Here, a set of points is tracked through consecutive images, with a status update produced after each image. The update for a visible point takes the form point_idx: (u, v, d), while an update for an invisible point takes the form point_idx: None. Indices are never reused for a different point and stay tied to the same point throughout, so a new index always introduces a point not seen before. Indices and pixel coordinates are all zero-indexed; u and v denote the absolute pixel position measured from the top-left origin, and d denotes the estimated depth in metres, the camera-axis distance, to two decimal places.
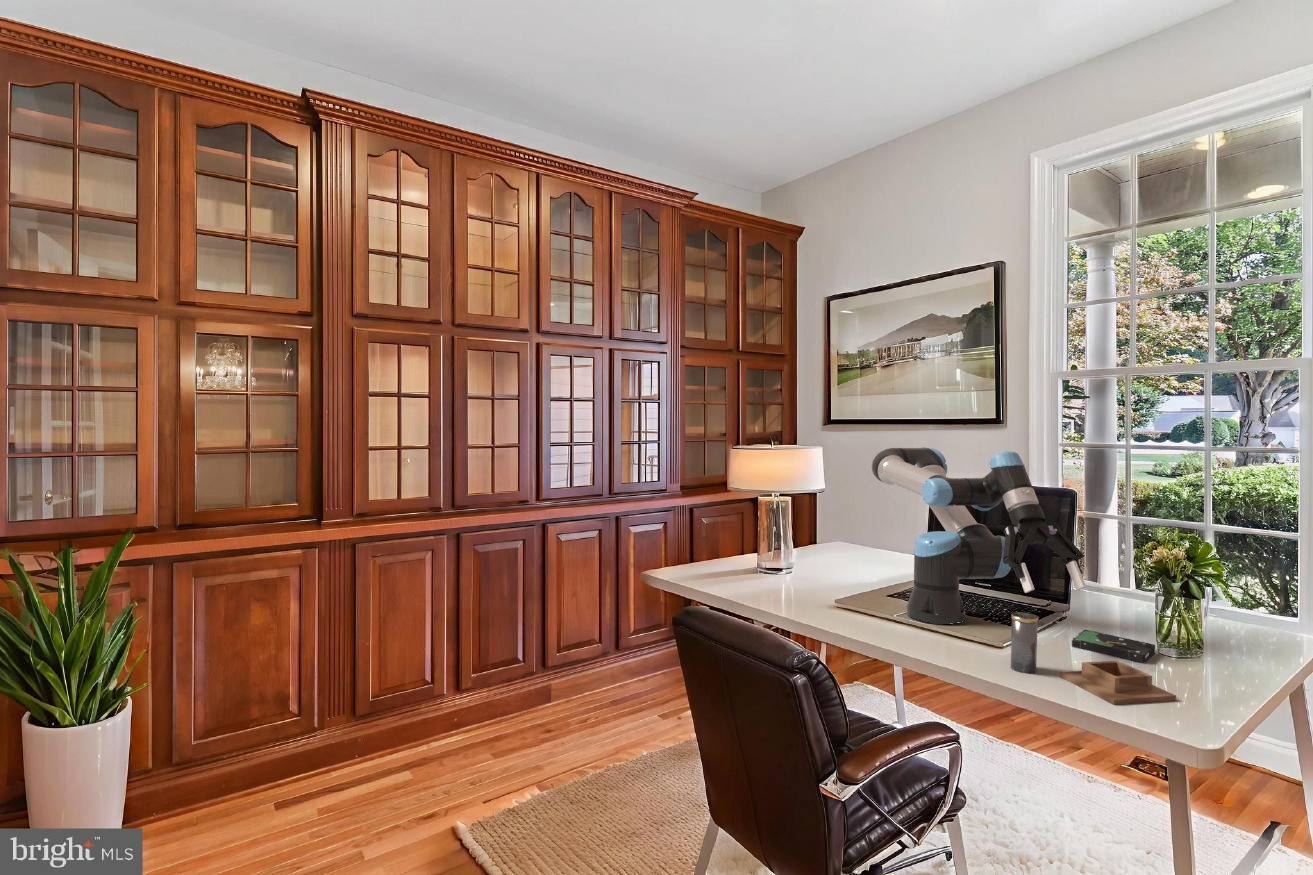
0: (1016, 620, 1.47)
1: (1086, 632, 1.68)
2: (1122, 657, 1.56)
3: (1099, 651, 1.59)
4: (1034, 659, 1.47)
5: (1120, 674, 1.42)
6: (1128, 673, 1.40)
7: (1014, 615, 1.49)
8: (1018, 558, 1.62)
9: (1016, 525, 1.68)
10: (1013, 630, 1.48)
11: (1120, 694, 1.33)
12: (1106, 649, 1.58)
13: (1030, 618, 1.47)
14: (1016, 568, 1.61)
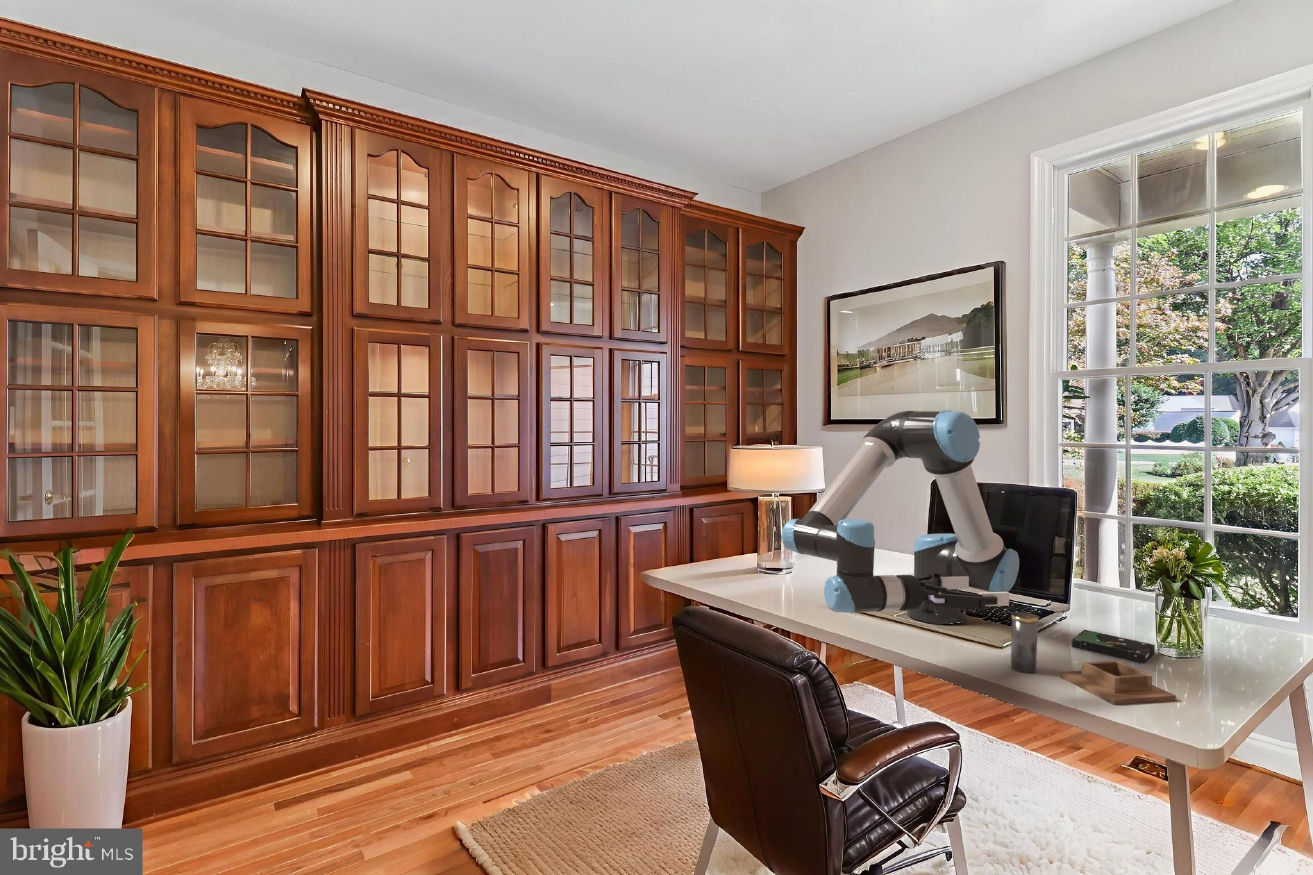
0: (1016, 620, 1.47)
1: (1086, 632, 1.68)
2: (1122, 657, 1.55)
3: (1099, 651, 1.59)
4: (1034, 659, 1.47)
5: (1120, 674, 1.42)
6: (1128, 673, 1.40)
7: (1014, 615, 1.49)
8: None
9: None
10: (1013, 630, 1.48)
11: (1120, 694, 1.33)
12: (1106, 649, 1.58)
13: (1030, 618, 1.47)
14: None
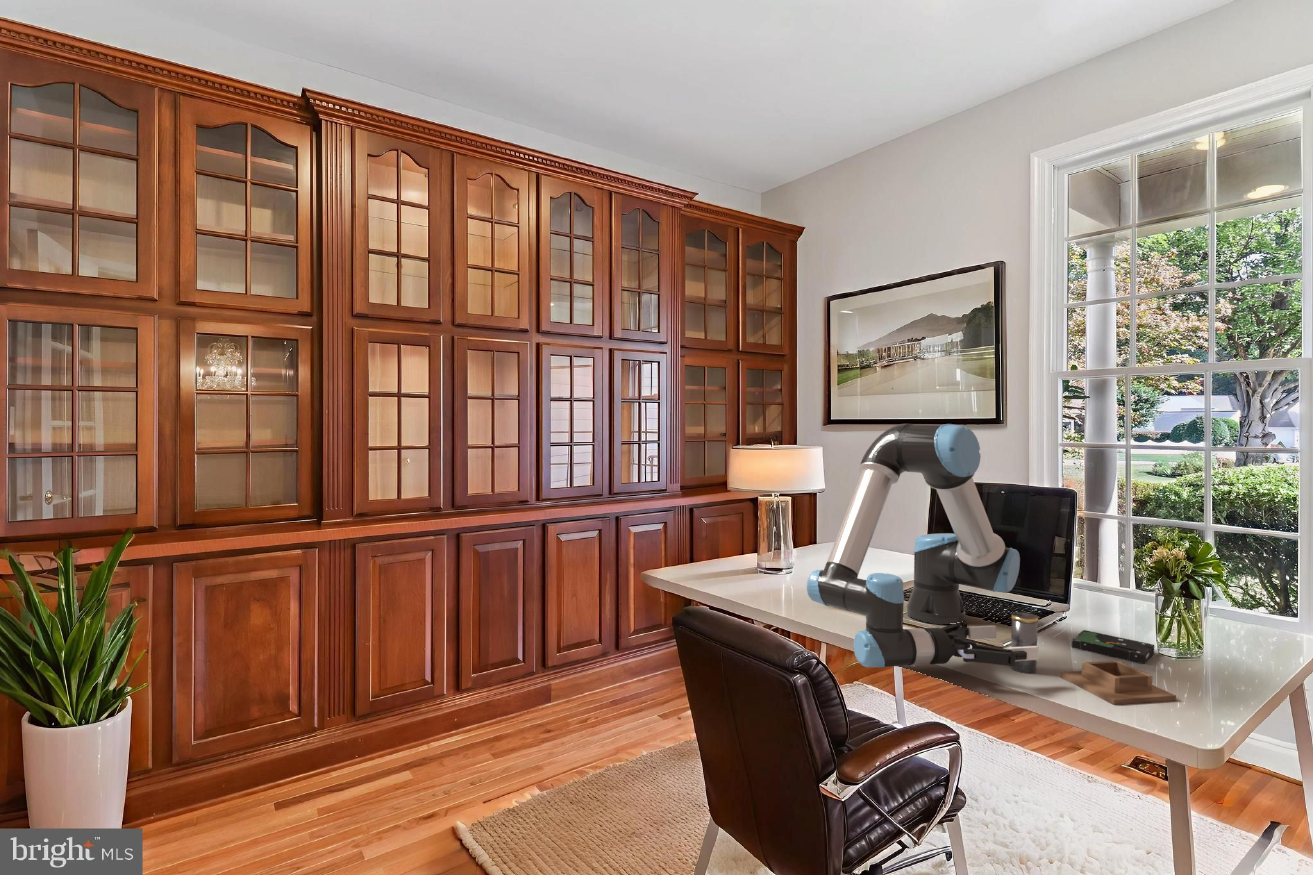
0: (1016, 620, 1.47)
1: (1085, 632, 1.67)
2: (1123, 658, 1.55)
3: (1099, 652, 1.59)
4: None
5: (1120, 674, 1.42)
6: (1128, 673, 1.40)
7: (1014, 615, 1.49)
8: None
9: None
10: (1013, 630, 1.48)
11: (1120, 694, 1.33)
12: (1107, 649, 1.57)
13: (1030, 618, 1.47)
14: None
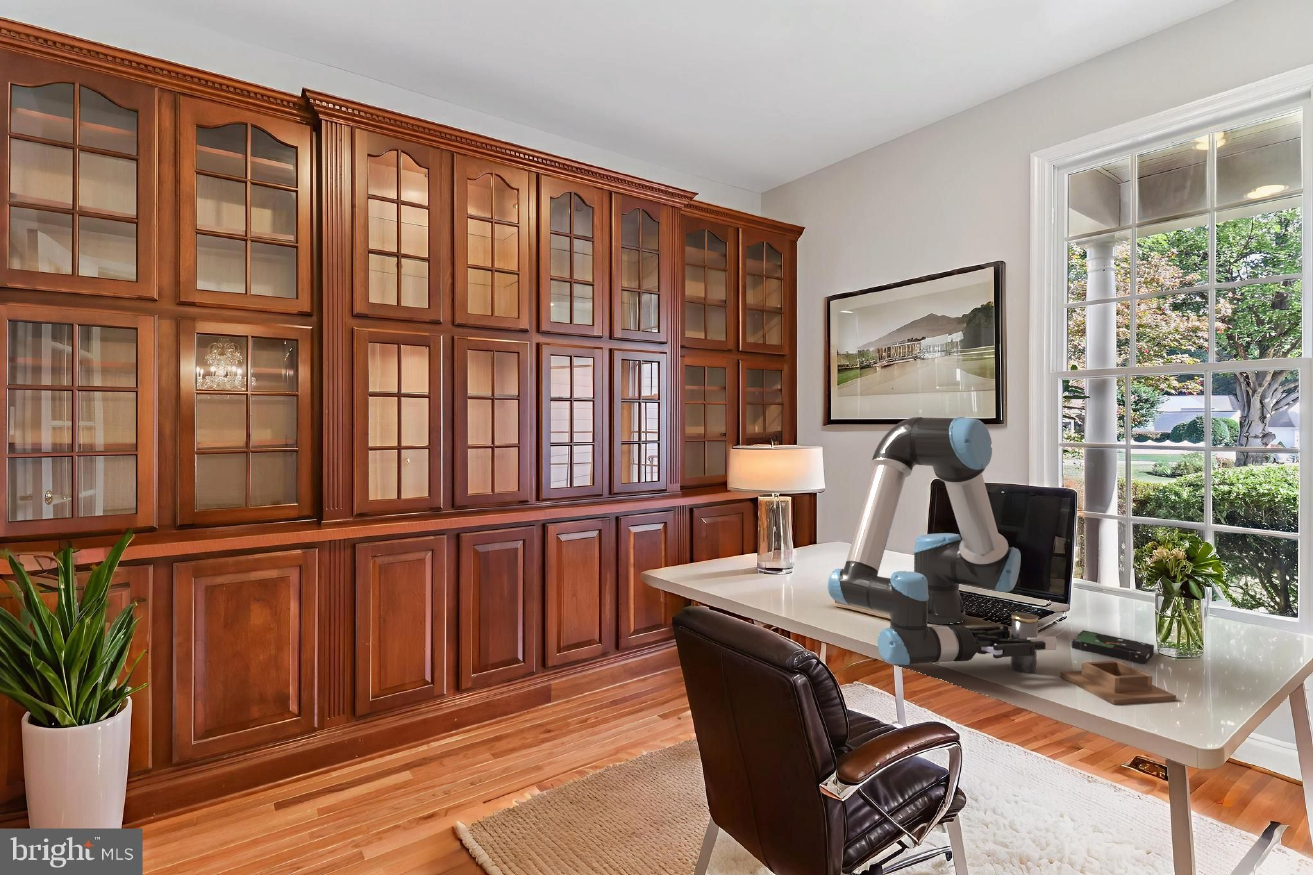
0: (1016, 620, 1.47)
1: (1085, 633, 1.67)
2: (1123, 658, 1.55)
3: (1100, 652, 1.58)
4: (1034, 659, 1.47)
5: (1120, 674, 1.42)
6: (1128, 673, 1.40)
7: (1014, 615, 1.49)
8: None
9: None
10: (1013, 630, 1.48)
11: (1120, 694, 1.33)
12: (1107, 650, 1.57)
13: (1030, 618, 1.47)
14: None
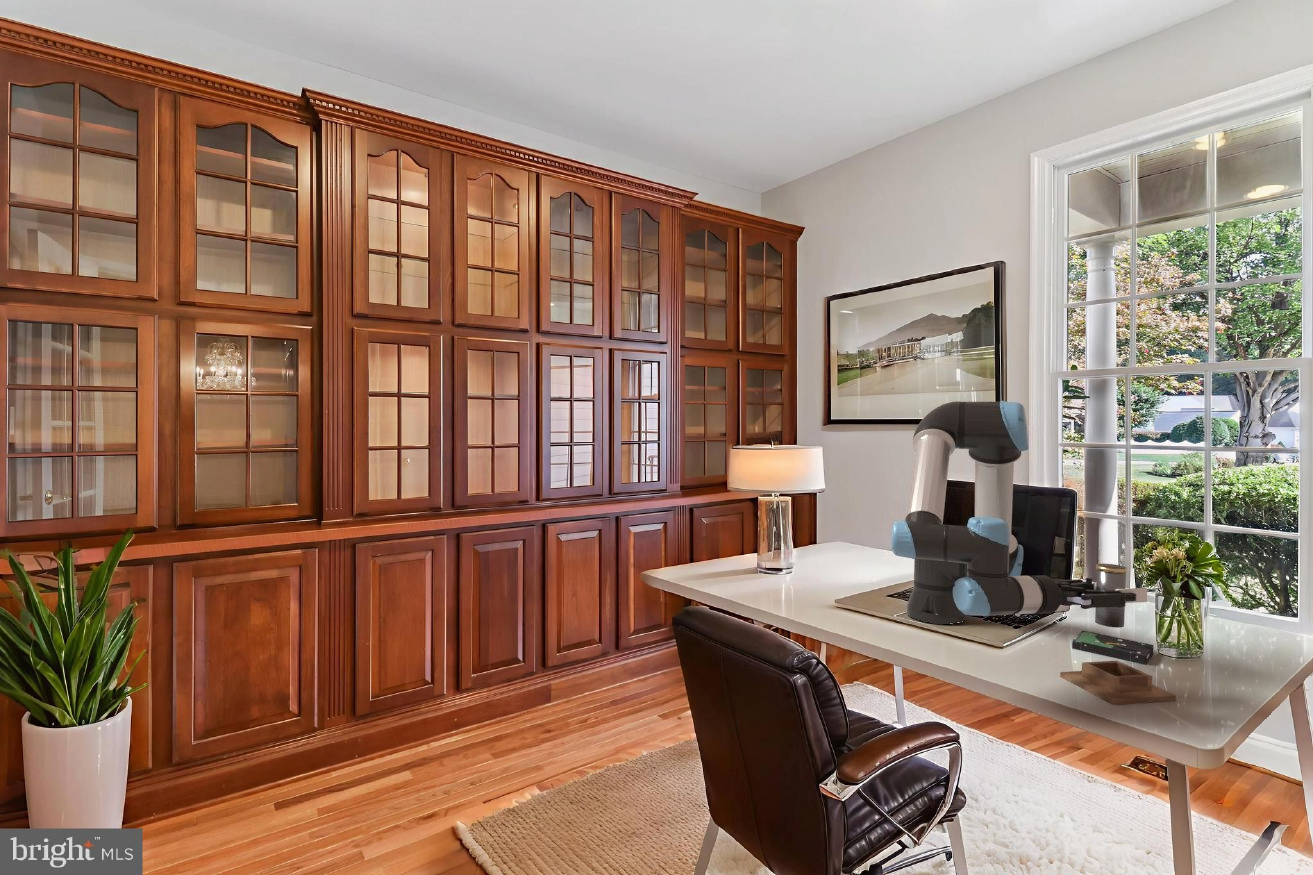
0: (1102, 570, 1.37)
1: (1084, 633, 1.67)
2: (1123, 658, 1.55)
3: (1100, 652, 1.58)
4: (1122, 612, 1.36)
5: (1120, 674, 1.42)
6: (1128, 673, 1.40)
7: (1100, 565, 1.38)
8: None
9: None
10: (1099, 581, 1.38)
11: (1120, 694, 1.33)
12: (1107, 650, 1.57)
13: (1118, 568, 1.36)
14: None
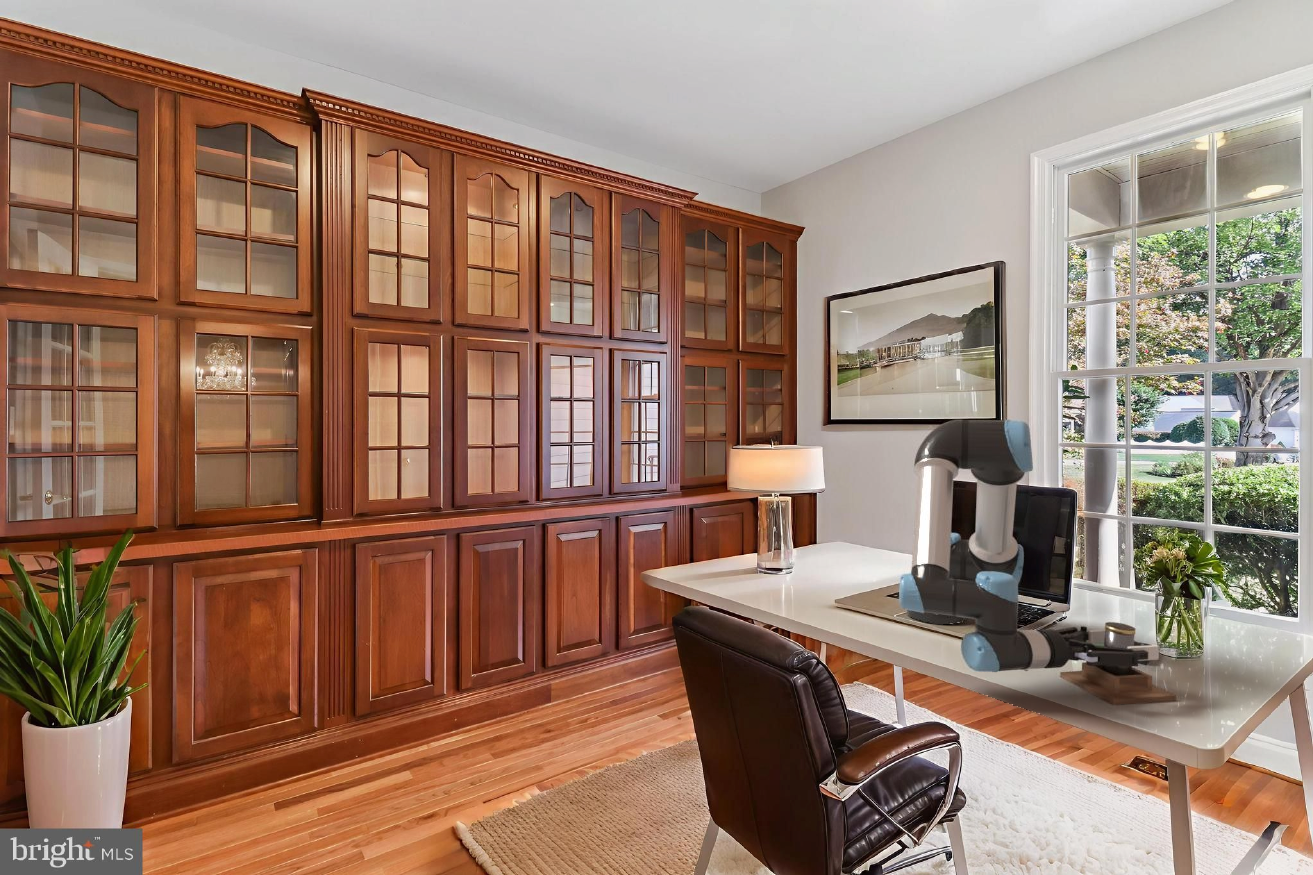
0: (1111, 631, 1.37)
1: None
2: None
3: None
4: (1129, 673, 1.36)
5: None
6: None
7: (1108, 625, 1.38)
8: None
9: None
10: (1107, 641, 1.38)
11: (1120, 694, 1.33)
12: None
13: (1127, 629, 1.36)
14: None
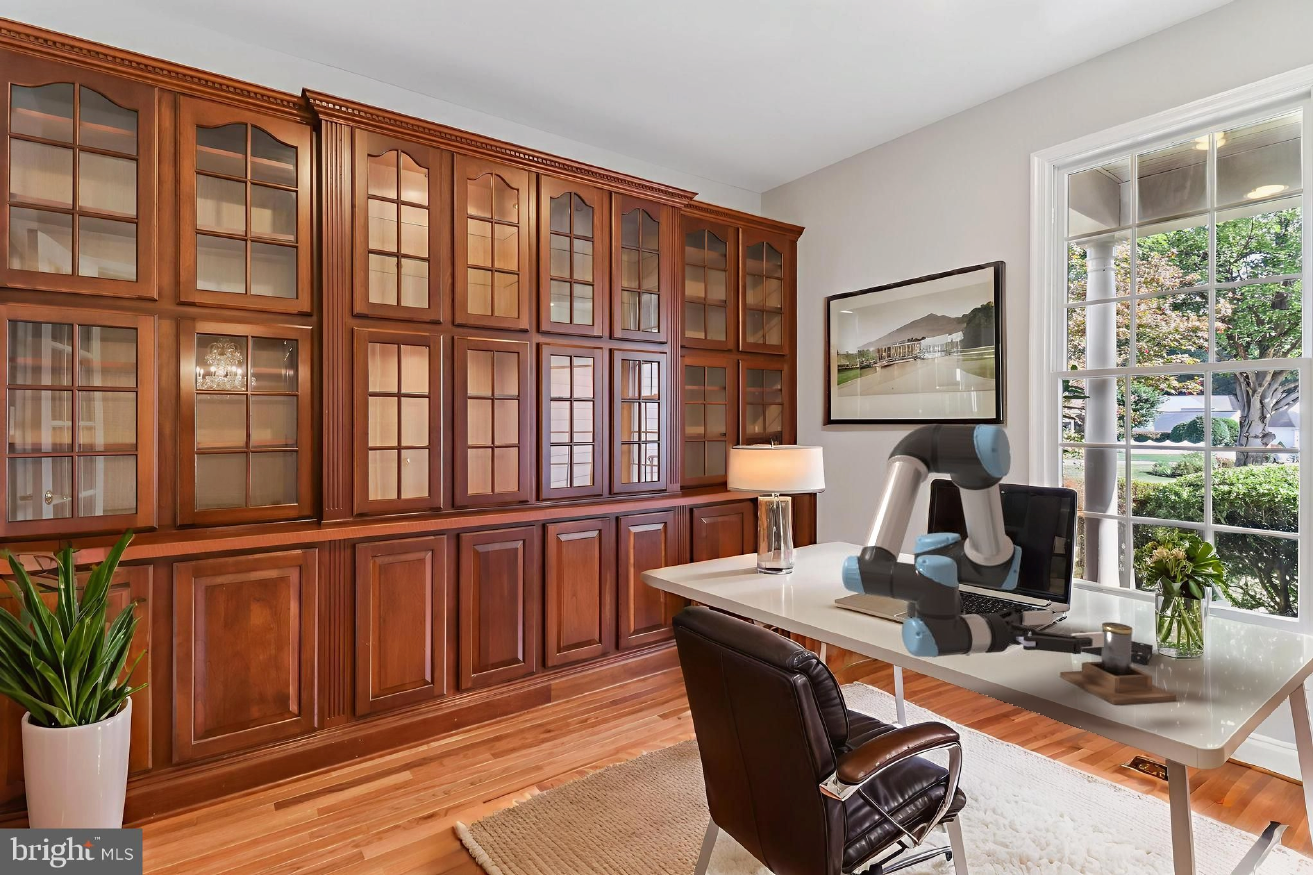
0: (1108, 631, 1.37)
1: None
2: None
3: (1101, 654, 1.57)
4: (1128, 673, 1.37)
5: None
6: None
7: (1105, 625, 1.39)
8: None
9: None
10: (1104, 641, 1.38)
11: (1120, 694, 1.33)
12: None
13: (1124, 629, 1.37)
14: None
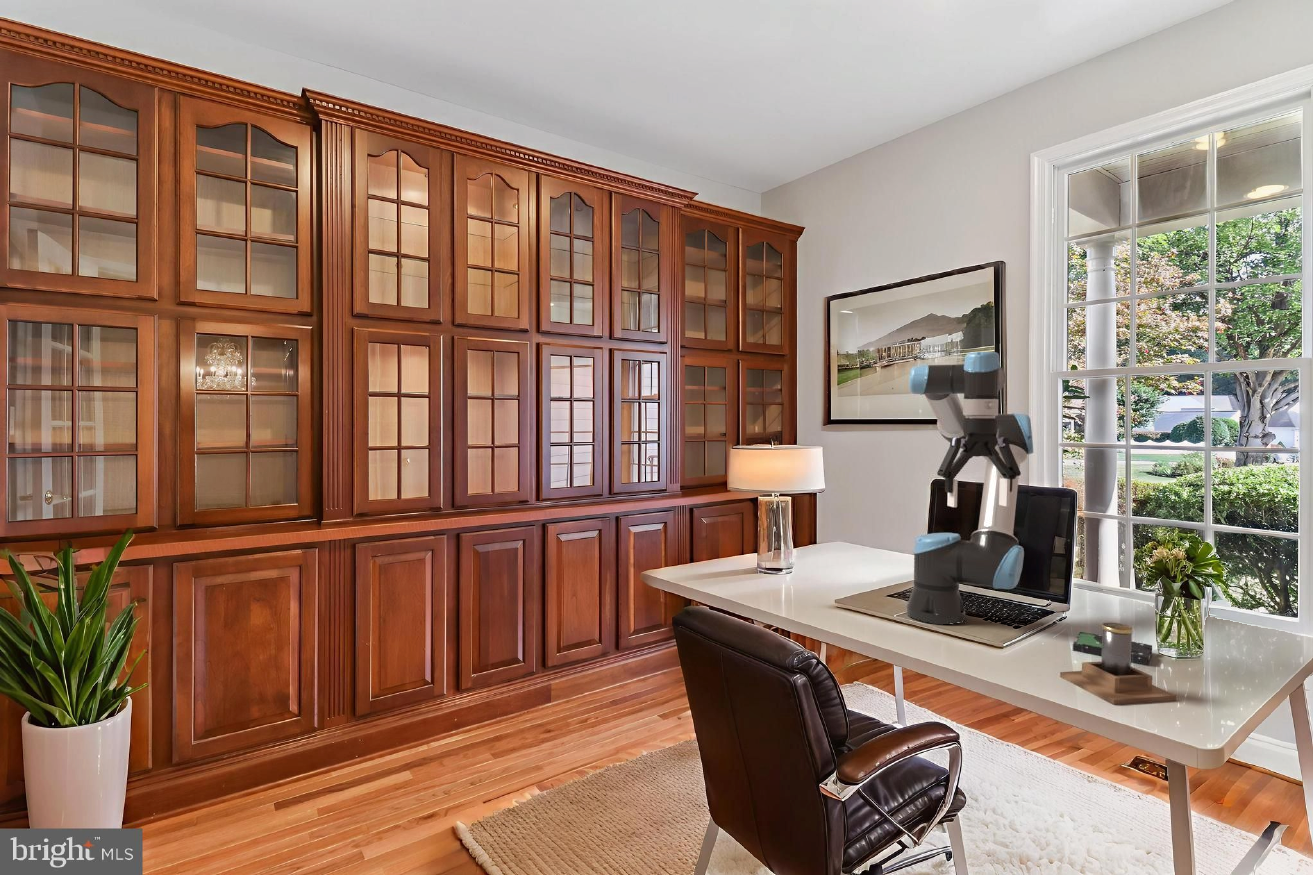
0: (1108, 631, 1.37)
1: (1083, 634, 1.66)
2: None
3: None
4: (1128, 673, 1.37)
5: None
6: None
7: (1105, 625, 1.39)
8: (953, 474, 1.57)
9: (965, 436, 1.59)
10: (1104, 641, 1.38)
11: (1120, 694, 1.33)
12: None
13: (1124, 629, 1.37)
14: (947, 483, 1.58)
